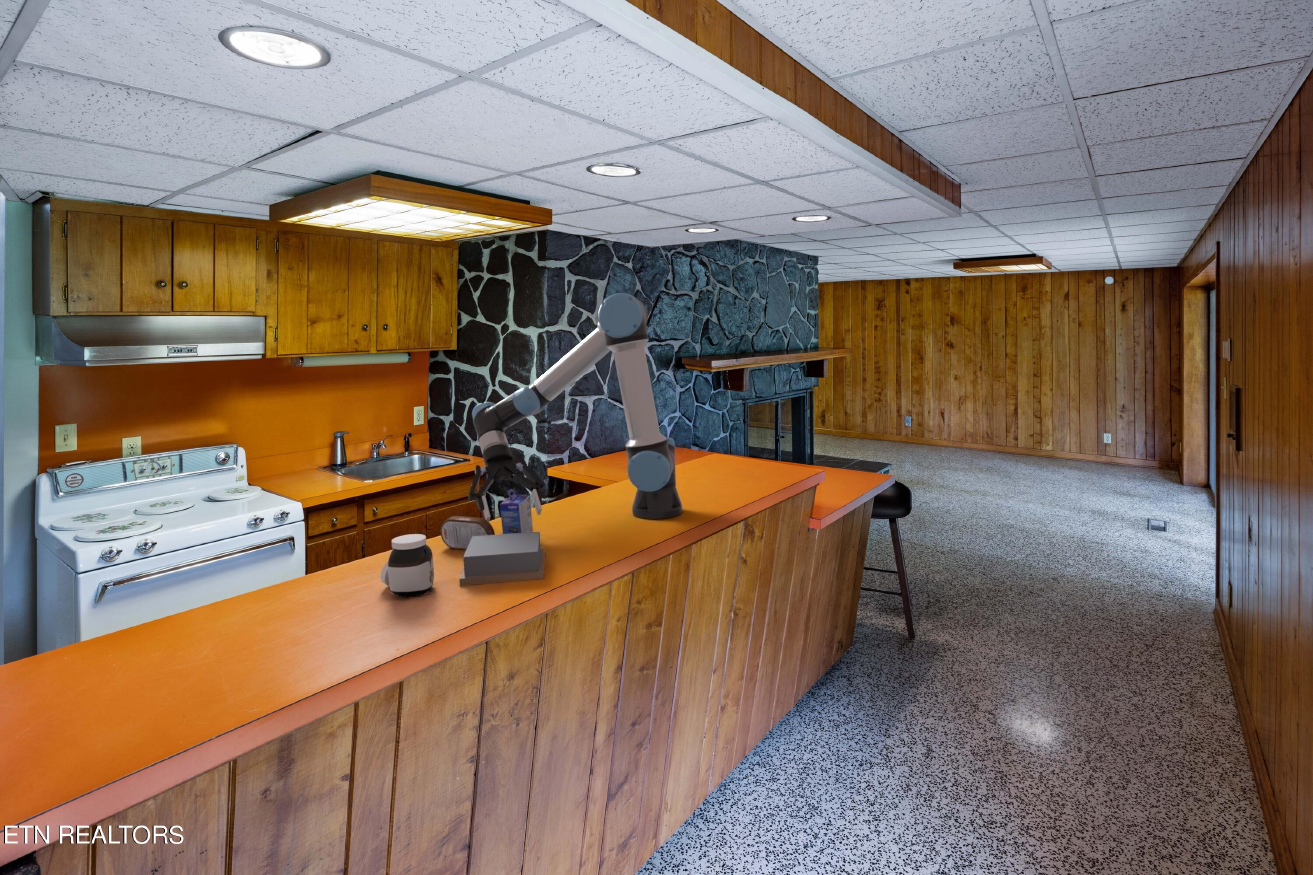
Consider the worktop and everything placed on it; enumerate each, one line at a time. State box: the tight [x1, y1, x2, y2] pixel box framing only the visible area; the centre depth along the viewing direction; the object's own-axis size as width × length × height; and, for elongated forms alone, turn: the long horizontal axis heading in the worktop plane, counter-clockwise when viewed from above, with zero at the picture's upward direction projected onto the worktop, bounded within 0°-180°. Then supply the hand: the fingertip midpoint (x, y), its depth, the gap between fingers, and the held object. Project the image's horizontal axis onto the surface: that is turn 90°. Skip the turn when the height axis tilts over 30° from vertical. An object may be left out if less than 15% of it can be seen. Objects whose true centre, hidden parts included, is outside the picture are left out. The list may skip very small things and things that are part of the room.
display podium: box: [459, 531, 546, 586], centre depth 152 cm, size 18×18×6 cm
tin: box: [439, 515, 496, 551], centre depth 168 cm, size 15×3×8 cm, turn 71°
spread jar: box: [379, 533, 435, 599], centre depth 140 cm, size 12×11×12 cm
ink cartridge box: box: [499, 488, 534, 534], centre depth 170 cm, size 10×6×14 cm, turn 174°
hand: (514, 516), depth 170 cm, fingers open, 13 cm apart
